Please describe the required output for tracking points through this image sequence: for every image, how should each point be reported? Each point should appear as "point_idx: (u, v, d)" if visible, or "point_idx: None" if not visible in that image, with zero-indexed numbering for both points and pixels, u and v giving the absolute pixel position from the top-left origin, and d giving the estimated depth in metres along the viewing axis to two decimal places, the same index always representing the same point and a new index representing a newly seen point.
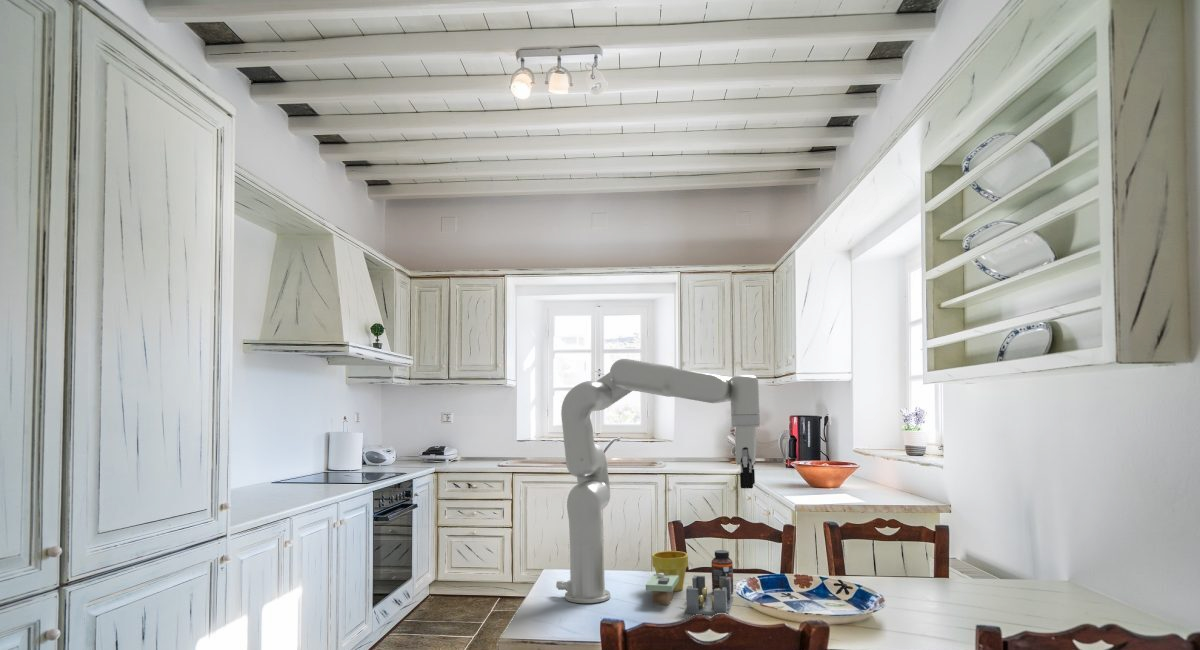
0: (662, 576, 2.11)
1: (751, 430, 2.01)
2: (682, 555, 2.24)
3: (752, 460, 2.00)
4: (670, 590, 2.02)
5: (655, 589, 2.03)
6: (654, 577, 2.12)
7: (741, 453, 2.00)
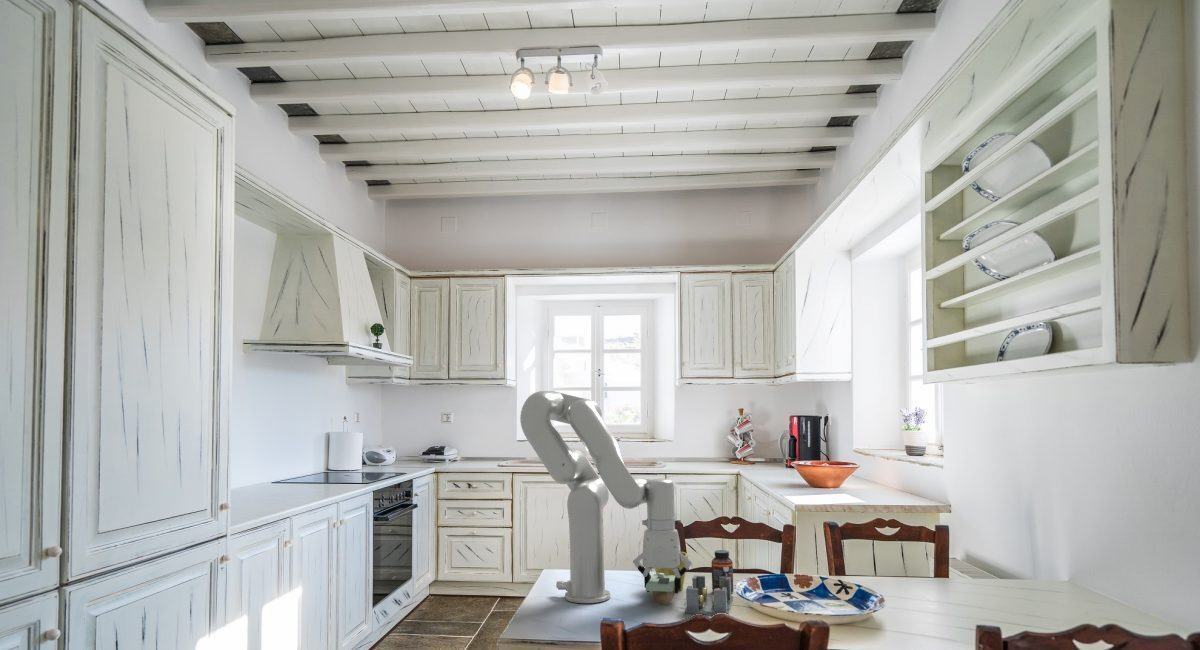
0: (662, 576, 2.11)
1: None
2: None
3: None
4: (670, 590, 2.02)
5: (655, 589, 2.03)
6: (654, 577, 2.12)
7: (679, 556, 2.07)
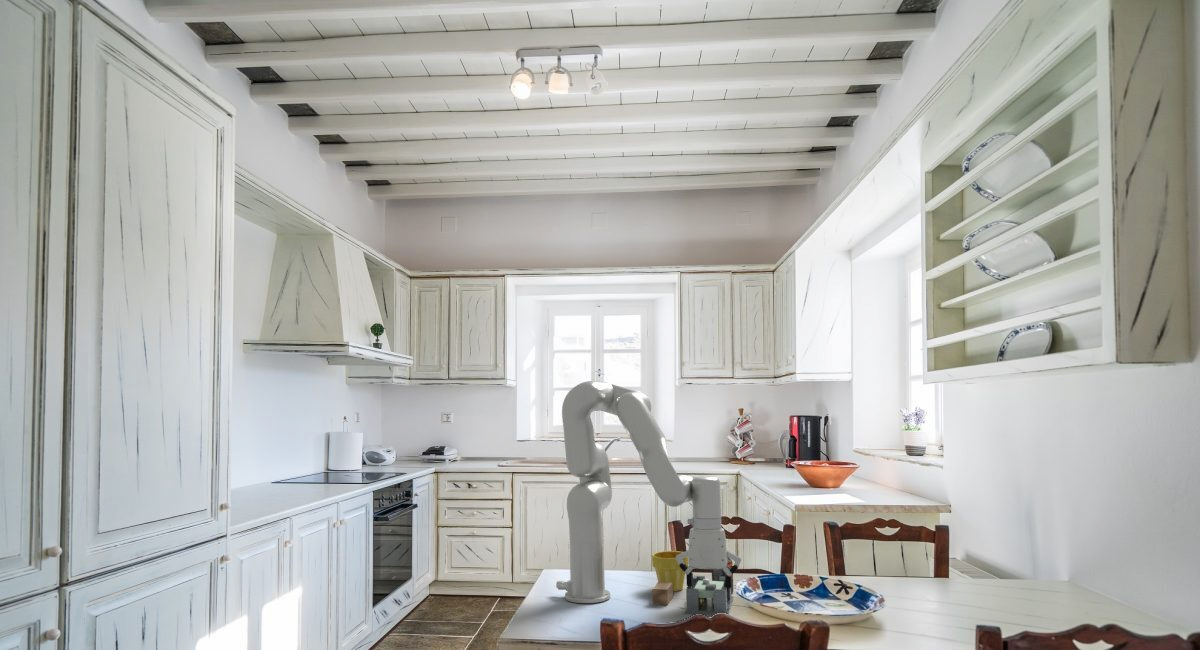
0: (708, 582, 2.05)
1: None
2: None
3: None
4: None
5: (702, 596, 1.97)
6: (699, 583, 2.06)
7: (727, 556, 2.01)
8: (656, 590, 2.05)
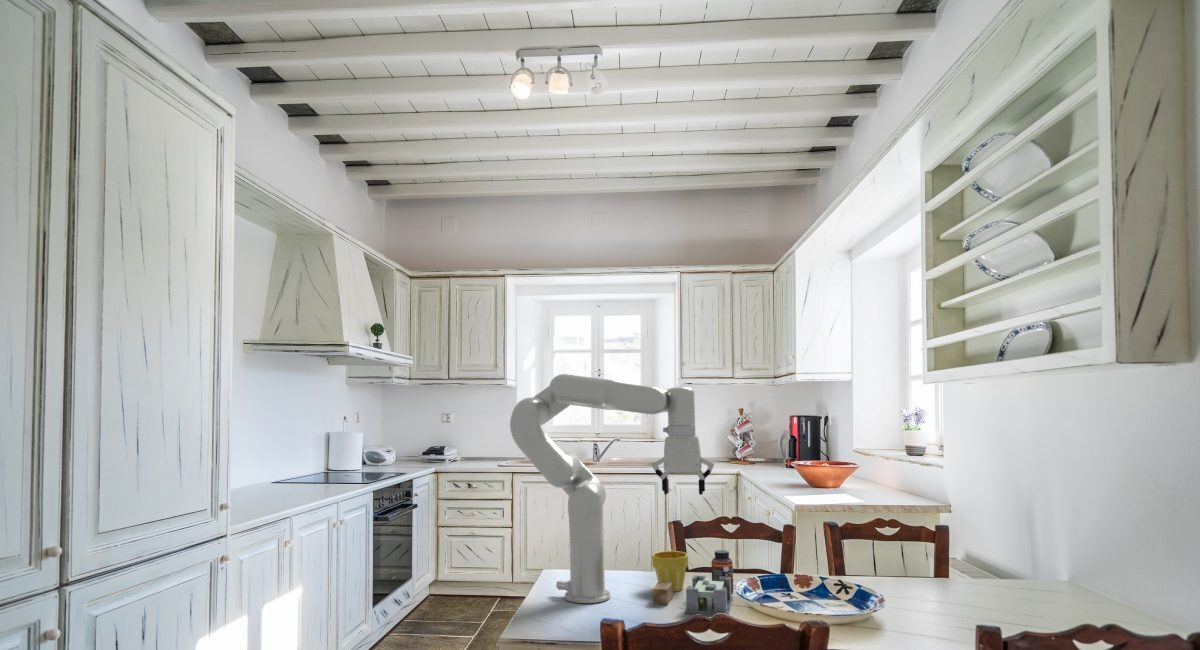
0: (708, 582, 2.05)
1: None
2: (682, 555, 2.24)
3: None
4: None
5: (702, 596, 1.97)
6: (699, 583, 2.06)
7: (700, 461, 2.11)
8: (656, 590, 2.05)
